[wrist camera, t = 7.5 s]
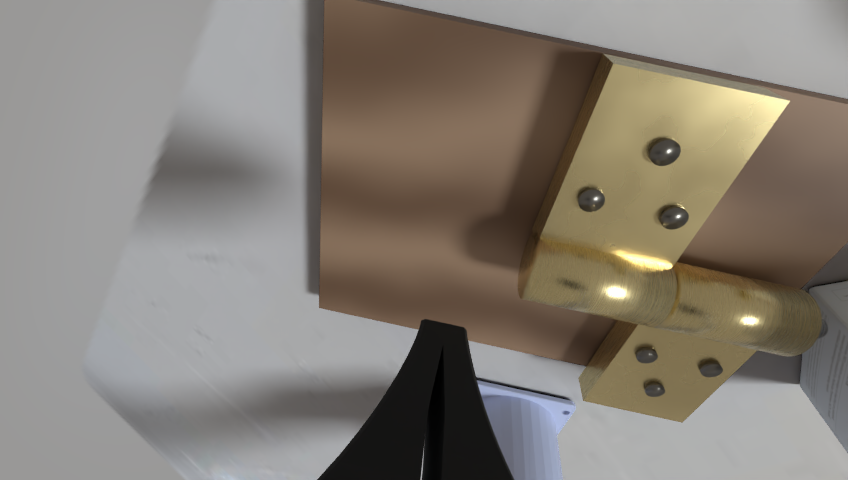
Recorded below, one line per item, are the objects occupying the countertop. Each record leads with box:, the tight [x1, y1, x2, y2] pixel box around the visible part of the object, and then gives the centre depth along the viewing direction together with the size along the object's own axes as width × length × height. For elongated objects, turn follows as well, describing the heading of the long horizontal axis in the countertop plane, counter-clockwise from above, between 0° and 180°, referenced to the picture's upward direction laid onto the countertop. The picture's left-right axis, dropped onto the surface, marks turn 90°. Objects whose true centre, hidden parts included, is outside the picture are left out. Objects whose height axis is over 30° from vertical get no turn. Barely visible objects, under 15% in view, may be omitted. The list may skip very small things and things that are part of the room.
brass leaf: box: [518, 54, 790, 327], centre depth 17 cm, size 11×6×3 cm, turn 170°
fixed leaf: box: [579, 262, 828, 422], centre depth 21 cm, size 11×7×3 cm
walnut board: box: [319, 0, 848, 366], centre depth 21 cm, size 17×24×1 cm
